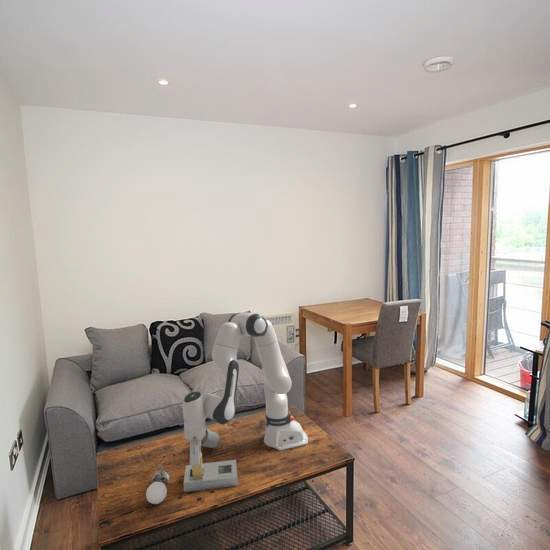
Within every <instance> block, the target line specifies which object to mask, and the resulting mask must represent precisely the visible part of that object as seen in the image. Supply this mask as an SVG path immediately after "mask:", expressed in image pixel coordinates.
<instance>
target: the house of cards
mask: <svg viewBox="0 0 550 550" xmlns="http://www.w3.org/2000/svg"><path fill="white" fill-rule="evenodd" d="M170 476H171V475H170V474H168V473H167V472H166V470H163V466H162V465H161V464H159V465H158V466H157V471H155V473H154V475H153V477H152V478H151V484H153V483H154V482H162V483H163V484H165V483H169V481H170Z"/></svg>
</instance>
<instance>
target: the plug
mask: <svg viewBox="0 0 550 550" xmlns="http://www.w3.org/2000/svg"><path fill="white" fill-rule="evenodd" d="M188 460H189V465H191V463H190V457H189V458H188ZM202 464H203V453H202V451H201V453H200V464H199V467H194V465H192V473H193V477H198V476H203V466H202Z"/></svg>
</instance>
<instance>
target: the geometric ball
mask: <svg viewBox="0 0 550 550" xmlns="http://www.w3.org/2000/svg"><path fill="white" fill-rule="evenodd" d="M167 492H168V489H167V486H166V484H165V483H162V482H154V483H151V484H150V485H149V486H148V487H147V489H146V493H145V497H146V499H147V502H149V503H150V504H152V505H159V504H160V503H162V502H163V501H164V500H165V499H166V497H167Z"/></svg>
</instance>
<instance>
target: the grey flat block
mask: <svg viewBox="0 0 550 550" xmlns="http://www.w3.org/2000/svg"><path fill="white" fill-rule="evenodd" d="M202 466H203V476H198V477H193V473H192V465H191V464H187V465H185V470H184V477H183V493H188V492H197V491H204V490H212V489H220V488H228V487H229V488H230V487H235V486H237V487H238V486H239V485H238V484H239V483H238V469H237V468H238V467H237V460H236V459H232V460H221V461H215V462H214V461H213V462H205V463H203V462H202Z"/></svg>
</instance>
